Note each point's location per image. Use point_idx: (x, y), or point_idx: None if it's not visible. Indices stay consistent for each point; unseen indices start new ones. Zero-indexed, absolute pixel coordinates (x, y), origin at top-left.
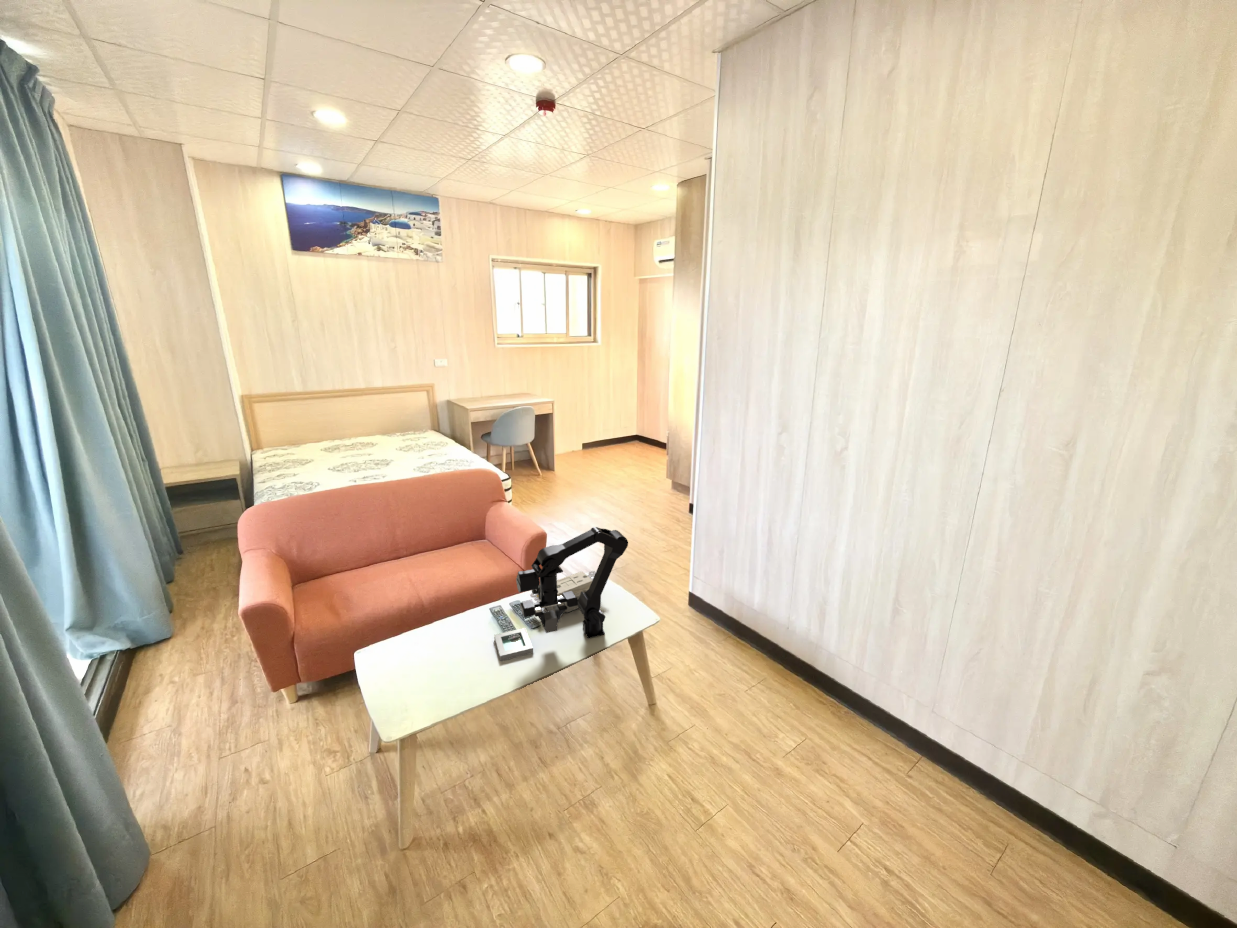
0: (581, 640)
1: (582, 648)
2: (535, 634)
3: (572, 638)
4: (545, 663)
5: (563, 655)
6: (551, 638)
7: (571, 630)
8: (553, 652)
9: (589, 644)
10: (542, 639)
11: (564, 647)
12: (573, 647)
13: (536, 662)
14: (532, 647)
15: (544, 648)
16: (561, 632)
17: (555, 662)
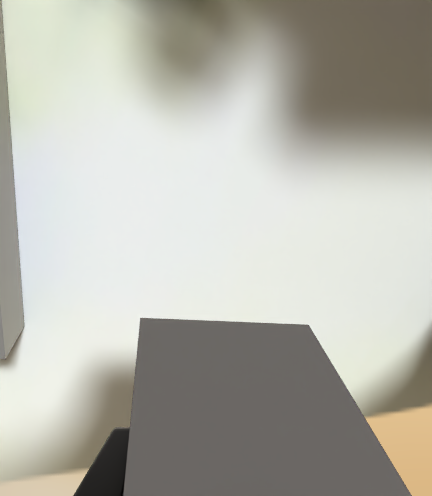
0: (402, 341)
1: (358, 406)
2: (107, 91)
3: (367, 298)
4: (86, 443)
5: None
6: (228, 227)
7: (422, 206)
8: None
9: (415, 391)
10: (149, 203)
11: None
12: None
13: (27, 418)
14: (2, 352)
15: (127, 315)
16: (340, 191)
17: None
